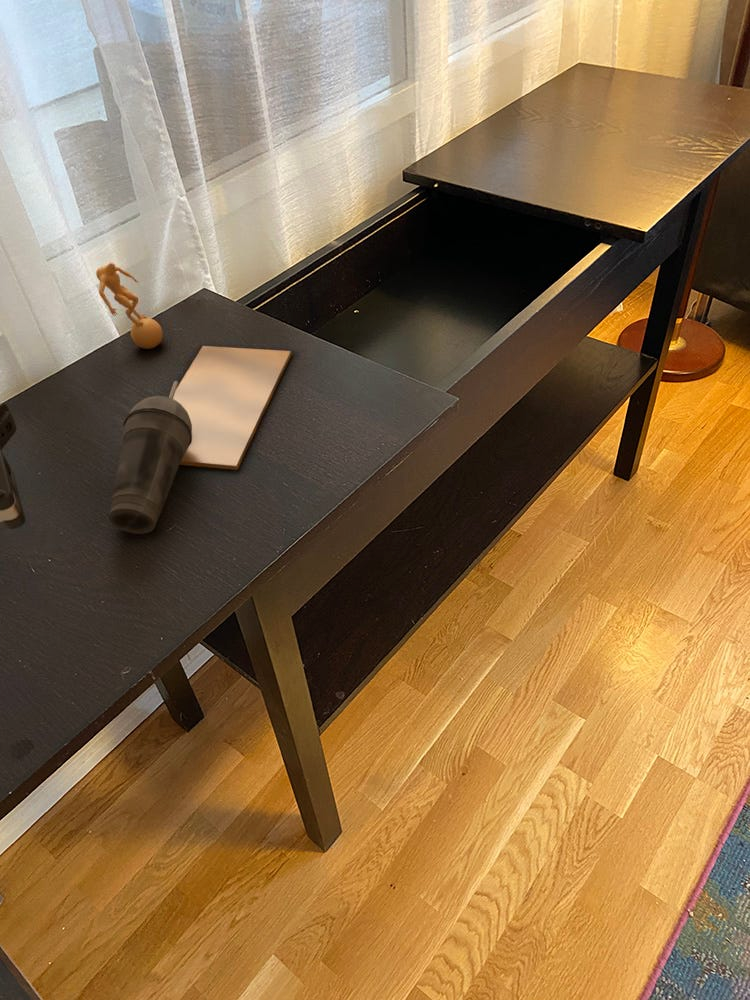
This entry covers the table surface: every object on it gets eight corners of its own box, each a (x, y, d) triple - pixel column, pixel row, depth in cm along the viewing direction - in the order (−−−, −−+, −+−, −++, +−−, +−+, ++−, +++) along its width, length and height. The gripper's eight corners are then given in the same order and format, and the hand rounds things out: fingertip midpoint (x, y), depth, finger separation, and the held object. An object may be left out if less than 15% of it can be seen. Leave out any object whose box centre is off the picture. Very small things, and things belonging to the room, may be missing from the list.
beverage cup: (86, 496, 74) (137, 348, 86) (102, 537, 80) (147, 393, 92) (163, 504, 74) (203, 355, 86) (173, 544, 80) (209, 400, 92)
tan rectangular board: (237, 470, 85) (236, 466, 85) (135, 461, 87) (134, 457, 87) (291, 354, 100) (291, 350, 100) (203, 349, 102) (202, 345, 102)
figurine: (155, 364, 101) (128, 279, 92) (111, 364, 101) (80, 280, 93) (174, 329, 106) (150, 246, 98) (132, 328, 107) (105, 246, 99)
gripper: (-90, 578, 39) (68, 374, 51) (-307, 551, 42) (-107, 362, 54) (-27, 662, 45) (104, 460, 57) (-222, 634, 47) (-58, 445, 59)
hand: (1, 412), depth 55 cm, fingers closed
